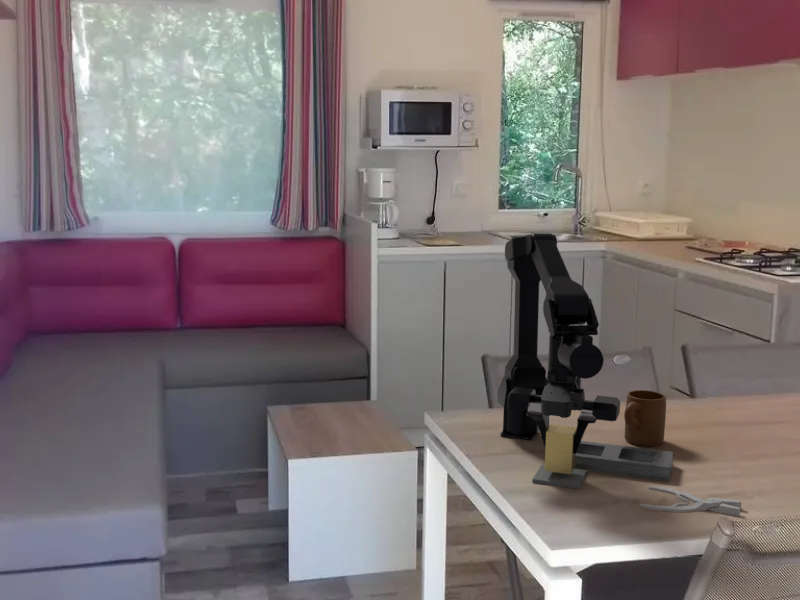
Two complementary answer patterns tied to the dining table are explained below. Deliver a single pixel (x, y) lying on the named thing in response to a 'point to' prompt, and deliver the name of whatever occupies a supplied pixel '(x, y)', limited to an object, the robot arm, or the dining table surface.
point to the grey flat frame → (624, 460)
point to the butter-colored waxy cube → (560, 449)
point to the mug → (645, 418)
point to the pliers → (697, 503)
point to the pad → (560, 478)
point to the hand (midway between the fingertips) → (560, 451)
